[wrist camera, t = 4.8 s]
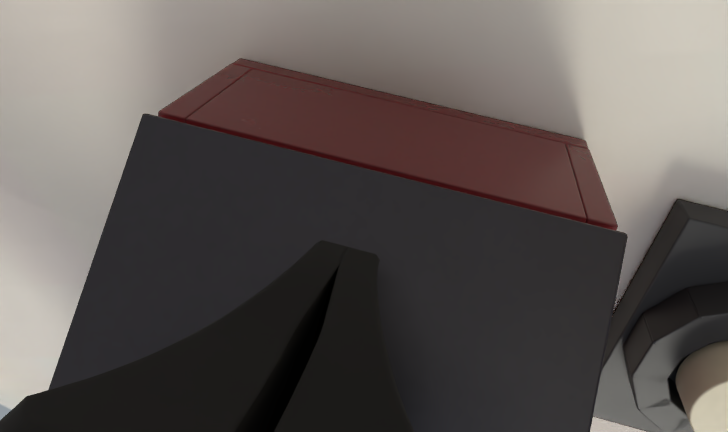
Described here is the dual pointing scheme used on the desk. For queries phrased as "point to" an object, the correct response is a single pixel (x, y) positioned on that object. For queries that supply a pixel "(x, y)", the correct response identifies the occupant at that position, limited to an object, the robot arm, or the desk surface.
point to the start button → (705, 387)
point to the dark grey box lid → (394, 277)
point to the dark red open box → (400, 138)
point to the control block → (666, 320)
